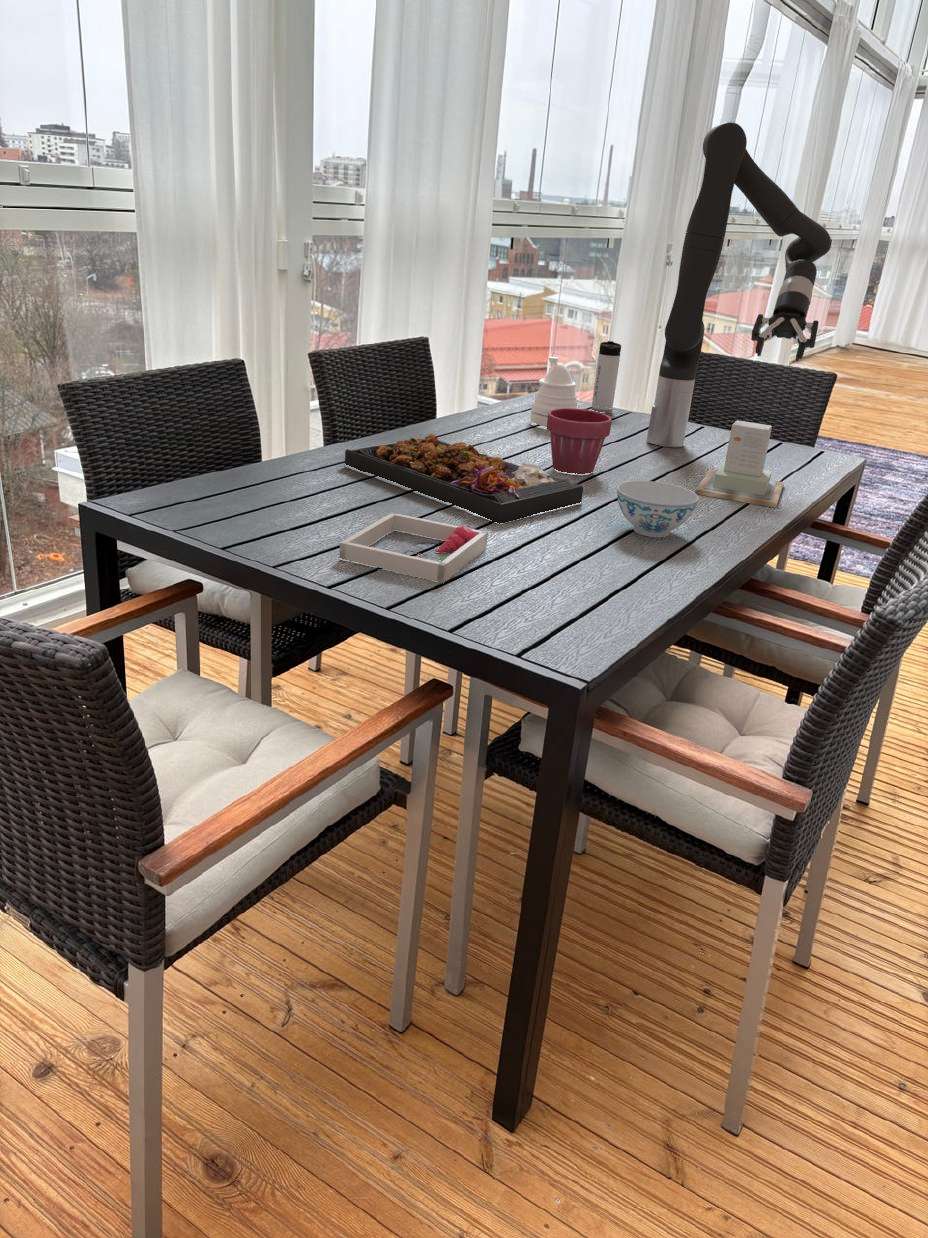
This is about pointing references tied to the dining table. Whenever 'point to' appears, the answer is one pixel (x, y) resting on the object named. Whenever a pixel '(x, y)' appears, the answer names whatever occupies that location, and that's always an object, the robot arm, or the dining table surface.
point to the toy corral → (410, 565)
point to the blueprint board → (764, 500)
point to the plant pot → (577, 438)
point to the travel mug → (606, 376)
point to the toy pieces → (454, 540)
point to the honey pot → (553, 393)
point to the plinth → (742, 481)
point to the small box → (747, 448)
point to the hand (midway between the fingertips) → (778, 356)
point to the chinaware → (655, 506)
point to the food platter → (466, 477)
